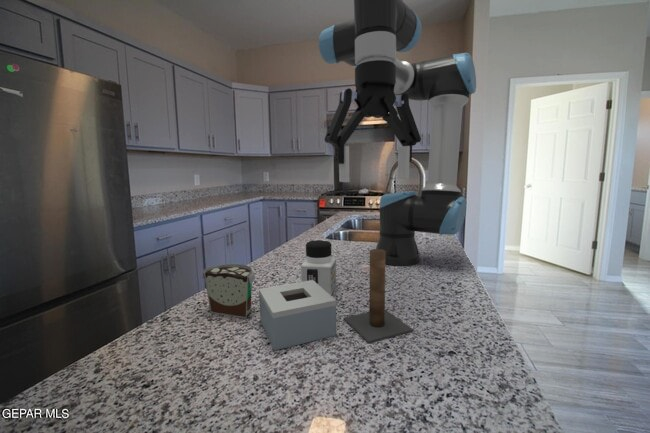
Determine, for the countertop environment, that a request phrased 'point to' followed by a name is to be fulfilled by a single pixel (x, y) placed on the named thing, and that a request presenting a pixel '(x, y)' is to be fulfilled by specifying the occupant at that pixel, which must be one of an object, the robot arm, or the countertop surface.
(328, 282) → the container
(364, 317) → the pad
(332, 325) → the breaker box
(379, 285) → the stylus
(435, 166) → the robot arm
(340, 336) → the countertop surface
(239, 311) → the food container
